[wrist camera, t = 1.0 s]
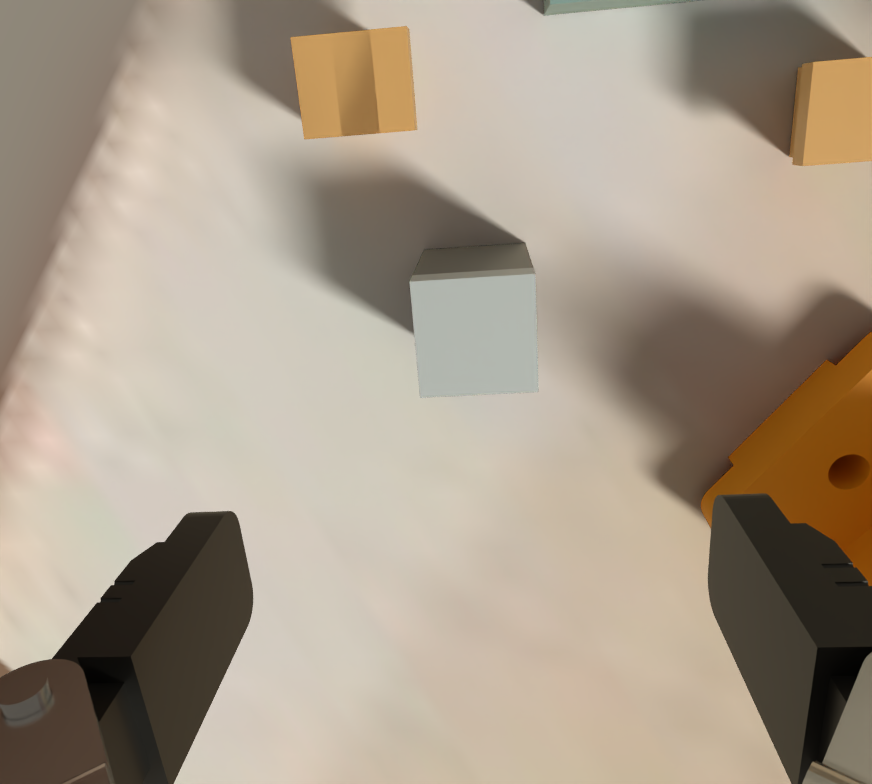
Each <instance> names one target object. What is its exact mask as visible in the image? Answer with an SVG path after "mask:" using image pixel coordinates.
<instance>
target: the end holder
mask: <svg viewBox="0 0 872 784" xmlns="http://www.w3.org/2000/svg"><path fill="white" fill-rule="evenodd" d="M691 1H701V0H544V15H554V14H564V13H575V12H585V11H596V10H607V9H617V8H628V7H638V6H649V5H659V4H670V3H680V2H691Z"/></svg>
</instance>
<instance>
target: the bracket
mask: <svg viewBox="0 0 872 784" xmlns="http://www.w3.org/2000/svg"><path fill="white" fill-rule="evenodd" d="M728 458H729V459H730V461H731V462H732V464H733V465H734V466H733V467H732V468H731V469H729V470H728V471H727V472H726V473H725V474H724V475H723V476H722V477H721V478H720V479H719V480H718V481H717V482H716V483H715V484H714V485H713V486H712V487H711V488H710V489H709V490H708V491H707V492H706V493H705V495H704V496H703V498H702V501H701V510H702V513H703V515H704V516H705V518H706V520H707V522H708V524H709V526H710V527H711V525H712V511H713V504H714V500H715V498H716V496H717V495H731V494H759V493H766V494H768V495H769V496H770V497H771V498H772V500H773V501H774V502H775V503H776V505H777V506H778V507H779V509H780V510H781V511H782V513H783V514H784V515H785V517H786V518H787V519H788V521H789V522H790V523H791V524H792V523H806V524H808V525H810V526H811V527H813V528H814V529H816V530H818V531H819V532H821V533H822V534H824V535H826V536H827V537H829V538H830V539H832V540H834V541H835V542H836V543H837V544H838V546H839V547H840V548H841V549H842V550H843V552H844V553H845V554H846V555H847V556H848V558H849V559H850V560H851V561H852V563H853V567H857V569H858V570H859V571H860V572H861V573H862V575H863V576H864V577H865V578H866V579H867V581H868V585H869V586H872V331H871V332H870V333H869V334H868V335H866V336H865V337H864V338H863V339H862V340H861V341H860V342H859V343H858V344H857V345H856V346H855V347H854V348H853V349H852V350H851V351H850V352H849V353H848V354H847V355H846V356H845V357H844V358H843V359H842V360H841V361H840V362H839V363H838V364H837V365H836V366H835V365H834V364H832V363H831V362H829V361H828V360H826V361H825V362H824V363H823V364H822V365H821V366H820V367H819V368H818V369H817V370H816V371H815V372H814V373H813V374H812V375H811V376H810V377H809V378H808V379H807V380H806V381H805V382H804V383H803V384H802V385H801V386H800V387H798V388H797V389H796V390H795V391H794V392H793V393H792V394H791V395H790V396H789V397H788V398H787V399H786V400H785V401H784V402H783V403H782V404H781V405H780V406H779V407H778V408H777V409H776V410H775V411H774V412H773V413H772V414H771V415H770V416H769V417H768V418H767V419H766V420H765V421H764V422H763V423H762V424H761V425H760V426H759V427H758V428H757V429H756V430H755V431H754V432H753V433H752V434H751V435H750V436H749V437H748V438H747V439H746V440H745V441H744V442H743V443H742V444H741V445H740V446H739V447H738V448H737V449H736V450H735V451H734V452H733V453H732V454H731V455H730V456H729V457H728Z"/></svg>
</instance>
